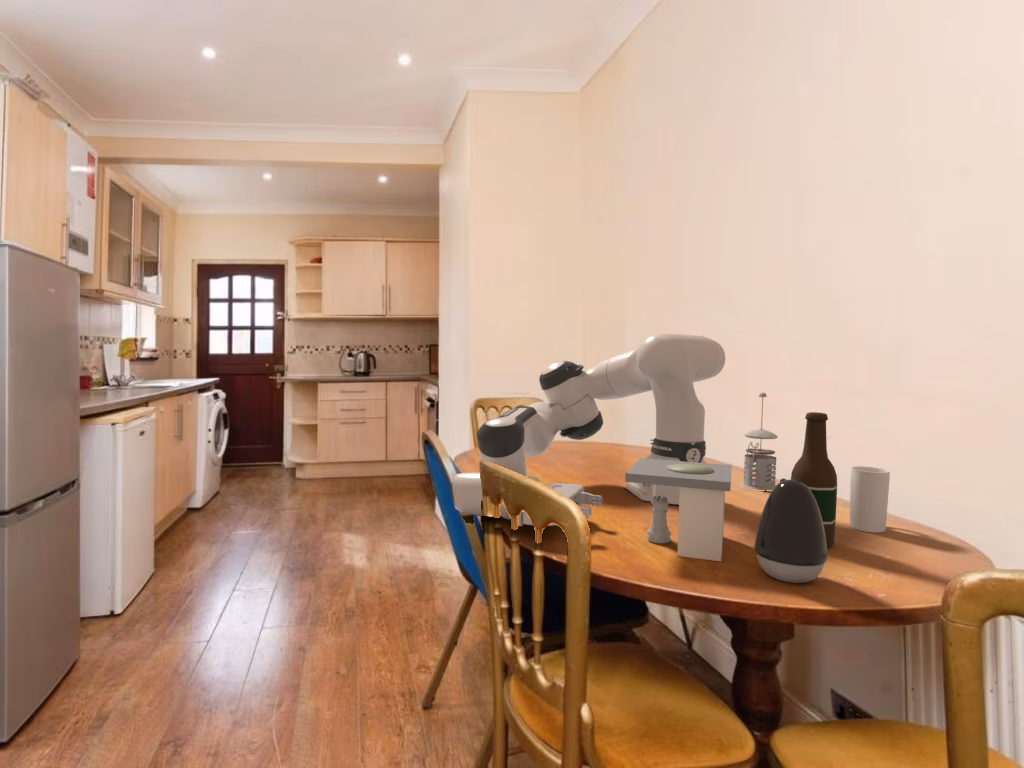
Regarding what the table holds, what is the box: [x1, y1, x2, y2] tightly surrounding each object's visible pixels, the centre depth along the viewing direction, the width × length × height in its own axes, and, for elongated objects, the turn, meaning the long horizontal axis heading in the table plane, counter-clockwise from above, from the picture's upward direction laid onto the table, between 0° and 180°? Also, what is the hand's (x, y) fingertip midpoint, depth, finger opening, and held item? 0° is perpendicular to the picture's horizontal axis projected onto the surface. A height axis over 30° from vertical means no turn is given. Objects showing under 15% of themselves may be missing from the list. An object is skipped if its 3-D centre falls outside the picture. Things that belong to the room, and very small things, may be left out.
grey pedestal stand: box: [624, 457, 733, 562], centre depth 109 cm, size 17×17×14 cm
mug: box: [849, 465, 891, 534], centre depth 123 cm, size 10×7×12 cm, turn 150°
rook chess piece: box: [646, 496, 672, 545], centre depth 111 cm, size 4×4×8 cm
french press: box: [739, 392, 779, 490], centre depth 158 cm, size 10×12×25 cm
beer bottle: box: [790, 411, 838, 550], centre depth 111 cm, size 8×8×24 cm
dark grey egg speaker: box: [753, 478, 828, 584], centre depth 93 cm, size 10×10×15 cm
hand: (596, 506), depth 115 cm, fingers open, 8 cm apart
